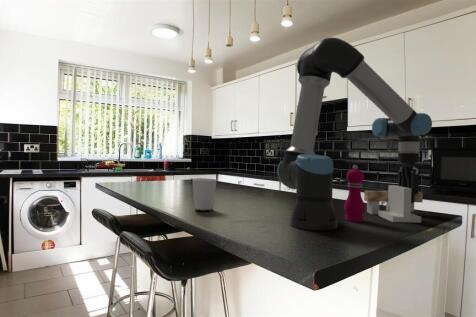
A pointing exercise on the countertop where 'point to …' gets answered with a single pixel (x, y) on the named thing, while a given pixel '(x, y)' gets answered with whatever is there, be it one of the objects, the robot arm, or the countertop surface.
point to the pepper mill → (354, 196)
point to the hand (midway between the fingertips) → (407, 209)
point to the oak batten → (385, 196)
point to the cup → (204, 194)
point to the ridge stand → (399, 205)
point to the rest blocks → (374, 207)
